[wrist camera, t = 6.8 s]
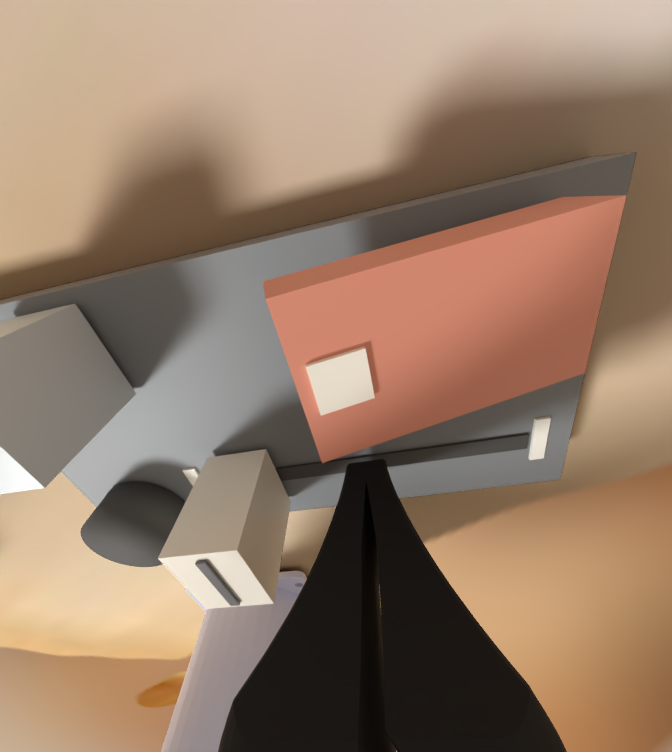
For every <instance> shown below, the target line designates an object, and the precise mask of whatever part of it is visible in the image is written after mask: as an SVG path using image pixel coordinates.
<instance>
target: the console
mask: <svg viewBox="0 0 672 752" xmlns="http://www.w3.org/2000/svg"><path fill="white" fill-rule="evenodd" d="M636 153H637V152H634V153H624V154H613V155H603V156H593V157H588V158H584V159H580V160H575V161H571V162H567V163H563V164H559V165H555V166H551V167H546V168H542V169H538V170H534V171H530V172H526V173H522V174H518V175H513V176H509V177H505V178H501V179H497V180H493V181H489V182H485V183H480V184H476V185H472V186H468V187H464V188H460V189H456V190H451V191H447V192H443V193H439V194H435V195H431V196H427V197H423V198H418V199H414V200H410V201H406V202H402V203H398V204H394V205H389V206H385V207H381V208H377V209H373V210H369V211H365V212H361V213H356V214H352V215H348V216H344V217H340V218H336V219H332V220H328V221H323V222H319V223H315V224H311V225H307V226H303V227H299V228H294V229H290V230H286V231H282V232H278V233H274V234H270V235H266V236H261V237H257V238H253V239H249V240H245V241H241V242H237V243H233V244H228V245H224V246H220V247H216V248H212V249H208V250H204V251H199V252H195V253H191V254H187V255H183V256H179V257H175V258H171V259H166V260H162V261H158V262H154V263H150V264H146V265H142V266H137V267H133V268H129V269H125V270H121V271H117V272H113V273H109V274H104V275H100V276H96V277H92V278H88V279H84V280H80V281H76V282H71V283H67V284H63V285H59V286H55V287H51V288H47V289H42V290H38V291H34V292H30V293H26V294H22V295H18V296H14V297H9V298H5V299H1V300H0V321H3V320H6V319H10V318H15V317H19V316H23V315H28V314H32V313H36V312H41V311H45V310H49V309H53V308H58V307H62V306H66V305H71V304H76V305H77V307H78V308H79V310H80V311H81V313H82V314H83V316H84V317H85V319H86V320H87V322H88V323H89V325H90V326H91V327H92V329H93V330H94V332H95V333H96V335H97V336H98V338H99V339H100V341H101V342H102V344H103V345H104V347H105V348H106V350H107V351H108V353H109V354H110V356H111V357H112V359H113V360H114V361H115V363H116V364H117V366H118V367H119V369H120V370H121V372H122V373H123V375H124V376H125V378H126V379H127V381H128V382H129V384H130V385H131V387H132V388H133V390H134V391H135V393H136V395H135V396H134V397H133V398H132V399H131V400H130V401H129V402H128V403H127V404H126V405H125V406H124V407H123V408H122V409H121V410H120V411H119V412H118V413H117V414H116V415H115V416H114V417H113V418H112V419H111V420H110V421H109V422H108V423H107V424H106V425H105V426H104V427H103V428H102V430H101V431H100V432H99V433H98V434H97V435H96V436H95V437H94V438H93V439H92V440H91V441H90V442H89V443H88V444H87V445H86V446H85V447H84V448H83V449H82V450H81V451H80V452H79V453H78V454H77V455H76V456H75V457H74V458H73V459H72V460H71V461H70V462H69V463H68V464H67V465H66V466H65V467H64V469H63V470H62V471H61V472H62V473H63V474H64V475H65V476H66V477H67V478H68V479H69V480H70V481H71V482H72V483H73V484H74V485H75V486H76V487H77V488H78V489H79V490H80V491H81V492H82V493H83V494H84V495H85V496H86V497H87V498H88V499H89V500H90V501H91V502H92V503H93V504H94V506H95V507H96V508H97V506H98V505H99V504H100V503H101V501H102V500H103V499H104V497H105V496H106V495H107V493H108V492H109V491H110V490H111V489H112V488H113V487H114V486H116V485H118V484H121V483H126V482H144V483H149V484H153V485H157V486H160V487H162V488H165V489H167V490H169V491H171V492H172V493H174V494H176V495H177V496H178V497H180V498H181V499H182V500H183V501H184V502H186V500H187V498H188V496H189V494H190V492H191V490H192V488H193V486H194V484H195V482H196V480H197V478H198V476H199V474H200V472H201V470H202V468H203V466H204V464H205V462H206V460H207V458H209V457H215V456H222V455H229V454H236V453H243V452H249V451H256V450H263V449H266V450H267V452H268V454H269V456H270V458H271V460H272V463H273V465H274V467H275V469H276V471H277V473H278V475H279V478H280V480H281V482H282V484H283V486H284V488H285V491H286V493H287V495H288V497H289V499H290V501H291V504H290V510H289V512H290V511H298V510H307V509H315V508H324V507H332V506H337V503H338V500H339V497H340V493H341V490H342V486H343V482H344V478H345V473H346V467H347V465H348V464H349V463H357V462H364V461H371V460H378V459H384V460H385V461H386V463H387V468H388V472H389V475H390V478H391V481H392V483H393V486H394V488H395V491H396V493H397V495H398V497H399V499H400V498H408V497H417V496H425V495H434V494H442V493H450V492H459V491H467V490H476V489H484V488H493V487H501V486H510V485H518V484H527V483H535V482H544V481H552V480H560V477H561V473H562V469H563V465H564V460H565V456H566V452H567V448H568V443H569V439H570V435H571V431H572V426H573V422H574V418H575V413H576V409H577V405H578V401H579V396H580V392H581V388H582V384H583V379H584V375H585V373H584V374H581V375H578V376H575V377H572V378H569V379H566V380H563V381H560V382H557V383H554V384H552V385H549V386H546V387H543V388H540V389H537V390H534V391H531V392H528V393H525V394H522V395H519V396H517V397H514V398H511V399H508V400H505V401H502V402H499V403H496V404H493V405H490V406H487V407H485V408H482V409H479V410H476V411H473V412H470V413H467V414H464V415H461V416H458V417H455V418H453V419H450V420H447V421H444V422H441V423H438V424H435V425H432V426H429V427H426V428H423V429H421V430H418V431H415V432H412V433H409V434H406V435H403V436H400V437H397V438H394V439H391V440H388V441H386V442H383V443H380V444H377V445H374V446H371V447H368V448H365V449H362V450H359V451H356V452H354V453H351V454H348V455H345V456H342V457H339V458H336V459H333V460H330V461H327V462H324V463H322V461H321V459H320V456H319V453H318V450H317V447H316V444H315V441H314V438H313V435H312V432H311V429H310V427H309V424H308V421H307V418H306V415H305V412H304V409H303V406H302V403H301V400H300V398H299V395H298V392H297V389H296V386H295V383H294V380H293V377H292V374H291V371H290V368H289V366H288V363H287V360H286V357H285V354H284V351H283V348H282V345H281V342H280V339H279V337H278V334H277V331H276V328H275V325H274V322H273V319H272V316H271V313H270V310H269V308H268V305H267V302H266V299H265V292H264V286H263V281H266V280H270V279H273V278H277V277H281V276H284V275H288V274H291V273H295V272H298V271H302V270H305V269H309V268H312V267H316V266H320V265H323V264H327V263H330V262H334V261H337V260H341V259H344V258H348V257H352V256H355V255H359V254H362V253H366V252H369V251H373V250H376V249H380V248H383V247H387V246H391V245H394V244H398V243H401V242H405V241H408V240H412V239H415V238H419V237H422V236H426V235H430V234H433V233H437V232H440V231H444V230H447V229H451V228H454V227H458V226H462V225H465V224H469V223H472V222H476V221H479V220H483V219H486V218H490V217H493V216H497V215H501V214H504V213H508V212H511V211H515V210H518V209H522V208H525V207H529V206H532V205H536V204H540V203H543V202H547V201H550V200H554V199H557V198H561V197H578V196H618V195H627V192H628V187H629V183H630V179H631V175H632V170H633V166H634V162H635V157H636ZM623 209H624V208H623ZM619 226H620V225H619ZM616 239H617V238H616ZM612 256H613V255H612ZM608 273H609V272H608ZM604 290H605V289H604ZM601 303H602V302H601ZM597 320H598V319H597ZM593 337H594V336H593ZM589 354H590V353H589ZM586 367H587V366H586Z"/></svg>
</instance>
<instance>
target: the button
mask: <svg viewBox="0 0 672 752" xmlns="http://www.w3.org/2000/svg"><path fill="white" fill-rule="evenodd" d="M184 504H185V502H184V501H183V500H182V499H181V498H180V497H178V496H177V495H176V494H174V493H172V492H171V491H169V490H167V489H165V488H162V487H160V486H157V485H153V484H149V483H144V482H126V483H121V484H118V485H116V486H114V487H113V488H112V489H111V490H110V491H109V492H108V493H107V495H106V496H105V497H104V499H103V500H102V501H101V503H100V504H99V505H98V506H97V508H96V509H95V510H94V512H93V513H92V514H91V516H90V517H89V518H88V520H87V521H86V522H85V524H84V525H83V526H82V528H81V537H82V539H83V541H84V542H85V544H86V545H87V546H88V547H89V548H90V549H91V550H93V551H94V552H96V553H97V554H99V555H100V556H102V557H104V558H106V559H109V560H111V561H114V562H117V563H120V564H124V565H129V566H136V567H153V566H158V565H162V564H163V563H162V562H161V561H160V560H159V559H158V557H159V555H160V553H161V551H162V549H163V547H164V545H165V543H166V541H167V539H168V537H169V535H170V533H171V531H172V529H173V527H174V524H175V522H176V520H177V518H178V516H179V514H180V512H181V510H182V508H183V506H184Z"/></svg>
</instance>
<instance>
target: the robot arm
mask: <svg viewBox="0 0 672 752" xmlns="http://www.w3.org/2000/svg"><path fill="white" fill-rule="evenodd" d="M379 584H380V589H379ZM185 590H186V591H187V592H188V593H189V594H190V596H191V597H192V598H193V599H194V600H195V601H196V602H197V603H198V604H199V605H200V606H201V607H202V608H203V609H204V610H205V611H206V613H205V616H204V619H203V622H202V625H201V629H200V632H199V635H198V638H197V641H196V644H195V647H194V650H193V654H192V657H191V661H190V663H189V666H188V669H187V672H186V675H185V678H184V682H183V685H182V688H181V691H180V694H179V697H178V700H177V703H176V707H175V710H174V713H173V716H172V719H171V722H170V725H169V729H168V732H167V735H166V738H165V741H164V744H163V747H162V751H161V752H396V750H397V752H566V749H565V747H564V745H563V743H562V741H561V739H560V737H559V735H558V733H557V731H556V729H555V728H554V726H553V724H552V722H551V721H550V719H549V717H548V716H547V714H546V712H545V711H544V709H543V707H542V706H541V704H540V703H539V701H538V700H537V698H536V696H535V695H534V693H533V691H532V690H531V688H530V686H529V685H528V684H527V683H526V681H525V680H524V679H523V678H522V677H521V675H520V674H519V673H518V672H517V671H516V669H515V668H514V667H513V666H512V665H511V664H510V662H509V661H508V660H507V659H506V657H505V656H504V655H503V654H502V652H501V651H500V650H499V649H498V647H497V646H496V645H495V644H494V642H493V641H492V640H491V639H490V637H489V636H488V635H487V634H486V632H485V631H484V630H483V628H482V627H481V626H480V625H479V623H478V622H477V621H476V619H475V618H474V617H473V615H472V614H471V613H470V611H469V610H468V609H467V607H466V606H465V604H464V603H463V602H462V601H461V599H460V598H459V597H458V595H457V594H456V592H455V591H454V589H453V588H452V587H451V585H450V584H449V582H448V581H447V579H446V578H445V577H444V575H443V574H442V572H441V571H440V569H439V568H438V566H437V565H436V563H435V562H434V560H433V558H432V557H431V555H430V554H429V552H428V551H427V549H426V547H425V546H424V544H423V542H422V541H421V539H420V537H419V535H418V534H417V532H416V530H415V528H414V527H413V525H412V523H411V521H410V519H409V517H408V516H407V514H406V512H405V510H404V508H403V506H402V504H401V502H400V500H399V497H398V495H397V493H396V491H395V488H394V486H393V483H392V481H391V478H390V475H389V472H388V468H387V463H386V461H385V460H384V459H378V460H371V461H364V462H357V463H349V464H348V465H347V467H346V473H345V478H344V482H343V486H342V490H341V493H340V497H339V500H338V503H337V506H336V509H335V512H334V515H333V519H332V521H331V524H330V527H329V529H328V532H327V534H326V537H325V540H324V542H323V545H322V547H321V549H320V552H319V554H318V556H317V559H316V561H315V563H314V565H313V567H312V569H311V571H310V574H309V576H308V578H307V577H306V575H305V574H304V573H303V572H301V571H286V572H279V576H278V582H277V588H276V594H275V600H274V604H264V605H251V606H238V607H225V608H213V609H206V608H205V607H204V606H203V605H202V604H201V603H200V602H199V601H198V600H197V599H196V598H195V597H194V596H193V595H192V594H191V593H190V592H189V591H188V590H187V589H186V588H185ZM380 601H381V609H380Z"/></svg>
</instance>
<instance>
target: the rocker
mask: <svg viewBox="0 0 672 752" xmlns="http://www.w3.org/2000/svg"><path fill="white" fill-rule="evenodd" d="M626 196H627V195H618V196H578V197H561V198H557V199H554V200H550V201H547V202H543V203H540V204H536V205H532V206H529V207H525V208H522V209H518V210H515V211H511V212H508V213H504V214H501V215H497V216H493V217H490V218H486V219H483V220H479V221H476V222H472V223H469V224H465V225H462V226H458V227H454V228H451V229H447V230H444V231H440V232H437V233H433V234H430V235H426V236H422V237H419V238H415V239H412V240H408V241H405V242H401V243H398V244H394V245H391V246H387V247H383V248H380V249H376V250H373V251H369V252H366V253H362V254H359V255H355V256H352V257H348V258H344V259H341V260H337V261H334V262H330V263H327V264H323V265H320V266H316V267H312V268H309V269H305V270H302V271H298V272H295V273H291V274H288V275H284V276H281V277H277V278H273V279H270V280H266V281H263V286H264V292H265V299H266V302H267V305H268V308H269V310H270V313H271V316H272V319H273V322H274V325H275V328H276V331H277V334H278V337H279V339H280V342H281V345H282V348H283V351H284V354H285V357H286V360H287V363H288V366H289V368H290V371H291V374H292V377H293V380H294V383H295V386H296V389H297V392H298V395H299V398H300V400H301V403H302V406H303V409H304V412H305V415H306V418H307V421H308V424H309V427H310V429H311V432H312V435H313V438H314V441H315V444H316V447H317V450H318V453H319V456H320V459H321V461H322V463H324V462H327V461H330V460H333V459H336V458H339V457H342V456H345V455H348V454H351V453H354V452H356V451H359V450H362V449H365V448H368V447H371V446H374V445H377V444H380V443H383V442H386V441H388V440H391V439H394V438H397V437H400V436H403V435H406V434H409V433H412V432H415V431H418V430H421V429H423V428H426V427H429V426H432V425H435V424H438V423H441V422H444V421H447V420H450V419H453V418H455V417H458V416H461V415H464V414H467V413H470V412H473V411H476V410H479V409H482V408H485V407H487V406H490V405H493V404H496V403H499V402H502V401H505V400H508V399H511V398H514V397H517V396H519V395H522V394H525V393H528V392H531V391H534V390H537V389H540V388H543V387H546V386H549V385H552V384H554V383H557V382H560V381H563V380H566V379H569V378H572V377H575V376H578V375H581V374H584V373H585V371H586V366H587V362H588V358H589V353H590V349H591V345H592V341H593V336H594V332H595V328H596V324H597V319H598V315H599V311H600V307H601V302H602V298H603V294H604V289H605V285H606V281H607V277H608V272H609V268H610V264H611V260H612V255H613V251H614V247H615V243H616V238H617V234H618V230H619V225H620V221H621V217H622V213H623V208H624V204H625V200H626Z"/></svg>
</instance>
